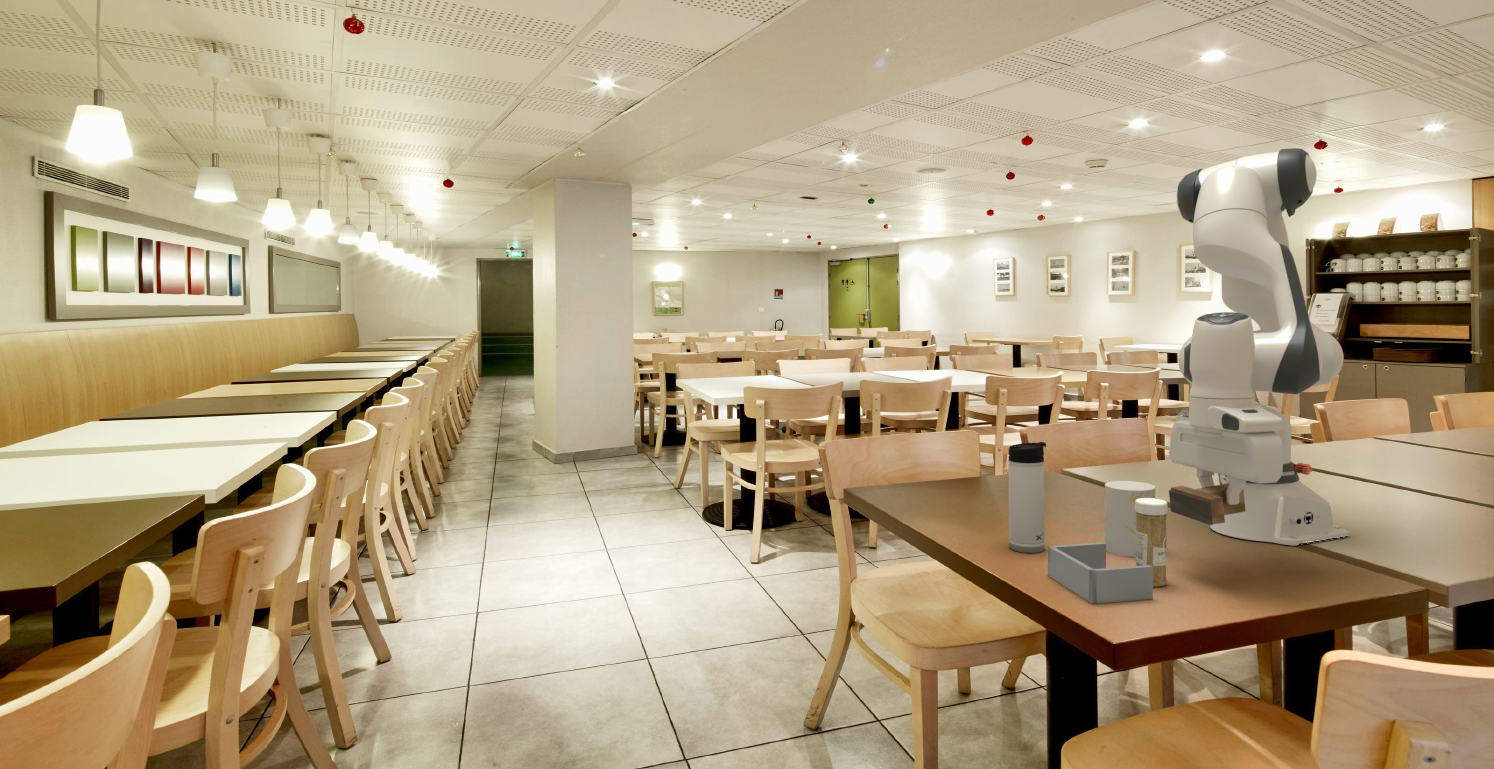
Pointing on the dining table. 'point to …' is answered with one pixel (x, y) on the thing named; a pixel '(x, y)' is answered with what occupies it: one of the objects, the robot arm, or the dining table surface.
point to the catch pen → (1098, 574)
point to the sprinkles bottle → (1152, 536)
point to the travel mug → (1026, 497)
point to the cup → (1123, 515)
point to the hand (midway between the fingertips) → (1220, 500)
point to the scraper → (1204, 503)
